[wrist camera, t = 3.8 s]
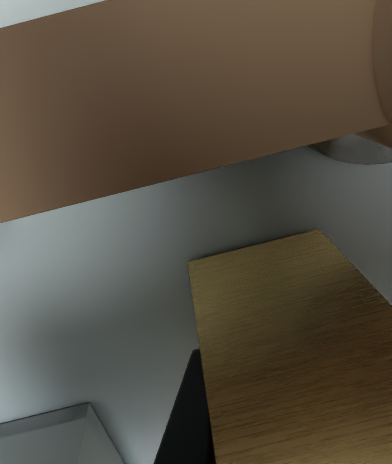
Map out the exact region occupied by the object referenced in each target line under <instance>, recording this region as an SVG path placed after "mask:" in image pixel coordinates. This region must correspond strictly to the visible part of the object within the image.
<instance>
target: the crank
mask: <svg viewBox="0 0 392 464" xmlns="http://www.w3.org/2000/svg"><path fill="white" fill-rule="evenodd" d="M350 134H355V135H358V136H360V137H363V138H365V139H368V140H370V141H373V142H376V143H378V144H381V145H384V146H386V147H389V148H391V149H392V0H106V1H102V2H98V3H94V4H91V5H87V6H83V7H79V8H75V9H72V10H68V11H64V12H60V13H56V14H53V15H49V16H45V17H41V18H37V19H33V20H30V21H26V22H22V23H18V24H14V25H11V26H7V27H3V28H0V223H3V222H7V221H11V220H15V219H18V218H22V217H26V216H30V215H34V214H38V213H42V212H46V211H50V210H54V209H58V208H62V207H66V206H70V205H74V204H78V203H82V202H86V201H89V200H93V199H97V198H101V197H105V196H109V195H113V194H117V193H121V192H125V191H129V190H133V189H137V188H141V187H145V186H149V185H153V184H157V183H160V182H164V181H168V180H172V179H176V178H180V177H184V176H188V175H192V174H196V173H200V172H204V171H208V170H212V169H216V168H220V167H224V166H228V165H231V164H235V163H239V162H243V161H247V160H251V159H255V158H259V157H263V156H267V155H271V154H275V153H279V152H283V151H287V150H291V149H295V148H299V147H302V146H306V145H310V144H314V143H318V142H322V141H326V140H330V139H334V138H338V137H342V136H346V135H350Z"/></svg>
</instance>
